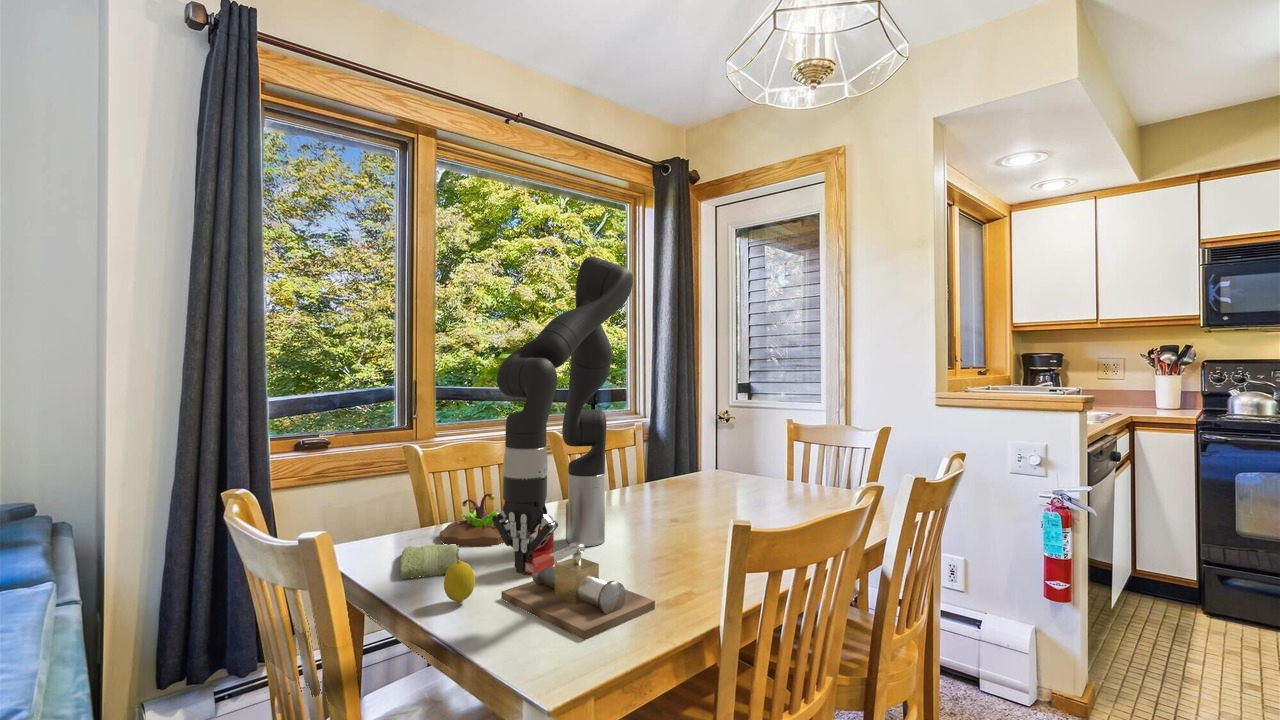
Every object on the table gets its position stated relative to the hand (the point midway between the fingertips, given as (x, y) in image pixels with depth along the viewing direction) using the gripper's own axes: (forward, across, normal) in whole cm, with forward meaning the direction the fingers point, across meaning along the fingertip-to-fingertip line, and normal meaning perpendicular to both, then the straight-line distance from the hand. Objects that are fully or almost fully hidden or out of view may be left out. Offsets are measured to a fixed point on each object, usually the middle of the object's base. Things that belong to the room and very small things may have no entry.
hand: (523, 571), depth 102 cm
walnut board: (+9, +4, +11) cm, 14 cm away
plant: (+10, -41, +38) cm, 57 cm away
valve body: (+9, +4, +11) cm, 14 cm away
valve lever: (-1, +4, +5) cm, 6 cm away
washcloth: (+10, -37, +15) cm, 41 cm away
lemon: (+9, -15, +1) cm, 18 cm away
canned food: (+9, -14, +23) cm, 28 cm away
